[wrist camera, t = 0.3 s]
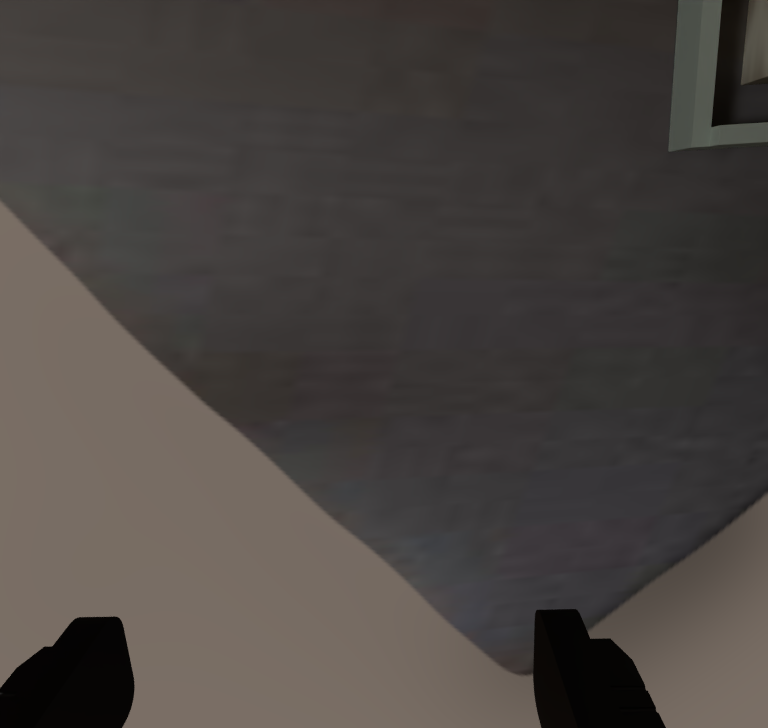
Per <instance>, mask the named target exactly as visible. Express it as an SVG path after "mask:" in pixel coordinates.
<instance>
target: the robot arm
mask: <svg viewBox="0 0 768 728" xmlns="http://www.w3.org/2000/svg"><path fill="white" fill-rule="evenodd" d="M533 681H534V693H535V701H536V707H537V712H538V716H539V720H540V724H541V728H666V727H665V725H664V723H663V721H662V719H661V717H660V715H659V713H657V712H656V707H655V705H654V703H653V701H652V699H651V697H650V695H649V693H648V691H646V689H645V684H644V682H643V680H642V678H641V676H640V674H639V673H638V671H637V668H636V666H635V664H634V662H633V660H632V659H631V658H630V657H629V656H628V655H627V654H626V653H625V652H623V650H622V649H621V648H619V647H618V646H617V645H616V644H615V643H614V642H613V641H612V640H611V639H590V637H589V635H588V632H587V630H586V627H585V625H584V623H583V620H582V618H581V616H580V614H579V612H578V610H576V609H557V610H537V611H536V613H535V631H534V668H533ZM133 697H134V677H133V672H132V667H131V662H130V657H129V652H128V647H127V642H126V638H125V633H124V628H123V624H122V621H121V620H120V618H118V617H79V618H76V619H75V620H73V622H71V623H70V625H69V626H68V627H67V628H66V630H65V631H64V632H63V634H62V635H61V636H60V637H59V639H58V640H57V641H56V643H55V644H54V645H53V646H52V647H44V648H43V649H41V650H40V651H38V652H37V653H36V654H34V655H33V656H32V657H31V658H29V659H28V660H27V661H25V662H24V663H23V664H21V665H20V666H19V667H17V668H16V669H15V671H14V672H13V673H12V674H11V676H10V677H9V678H8V679H7V680H6V682H5V683H4V684H3V685H2V687H1V688H0V728H122V727H123V725H124V723H125V721H126V719H127V717H128V715H129V712H130V710H131V706H132V702H133Z"/></svg>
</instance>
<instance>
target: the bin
mask: <svg viewBox="0 0 768 728" xmlns="http://www.w3.org/2000/svg"><path fill="white" fill-rule="evenodd" d="M721 7H722V0H679V3H678V17H677V32H676V47H675V61H674V76H673V91H672V105H671V120H670V135H669V149H668V152H674V151H690V150H706V149H723V148H739V147H755V146H768V122H764V123H748V124H733V125H719V126H715V127H711V124H712V112H713V101H714V89H715V77H716V66H717V54H718V42H719V31H720V19H721Z"/></svg>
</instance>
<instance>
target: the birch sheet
mask: <svg viewBox="0 0 768 728" xmlns="http://www.w3.org/2000/svg"><path fill="white" fill-rule="evenodd" d="M753 84H768V0H749V7H748V18H747V28H746V38H745V49H744V59H743V69H742V80H741V85H753Z"/></svg>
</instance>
